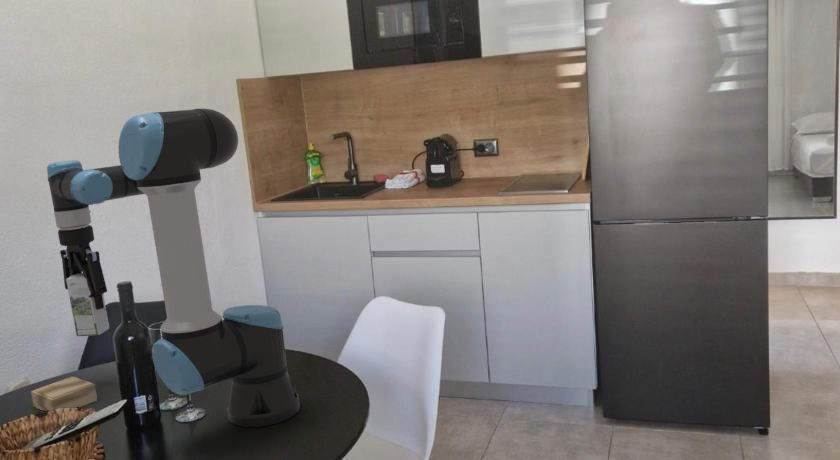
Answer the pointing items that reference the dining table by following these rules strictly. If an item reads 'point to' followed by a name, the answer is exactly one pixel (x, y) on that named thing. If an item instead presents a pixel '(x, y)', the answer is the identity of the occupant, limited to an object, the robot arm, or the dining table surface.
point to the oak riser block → (64, 394)
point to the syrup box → (83, 307)
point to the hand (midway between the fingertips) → (91, 319)
